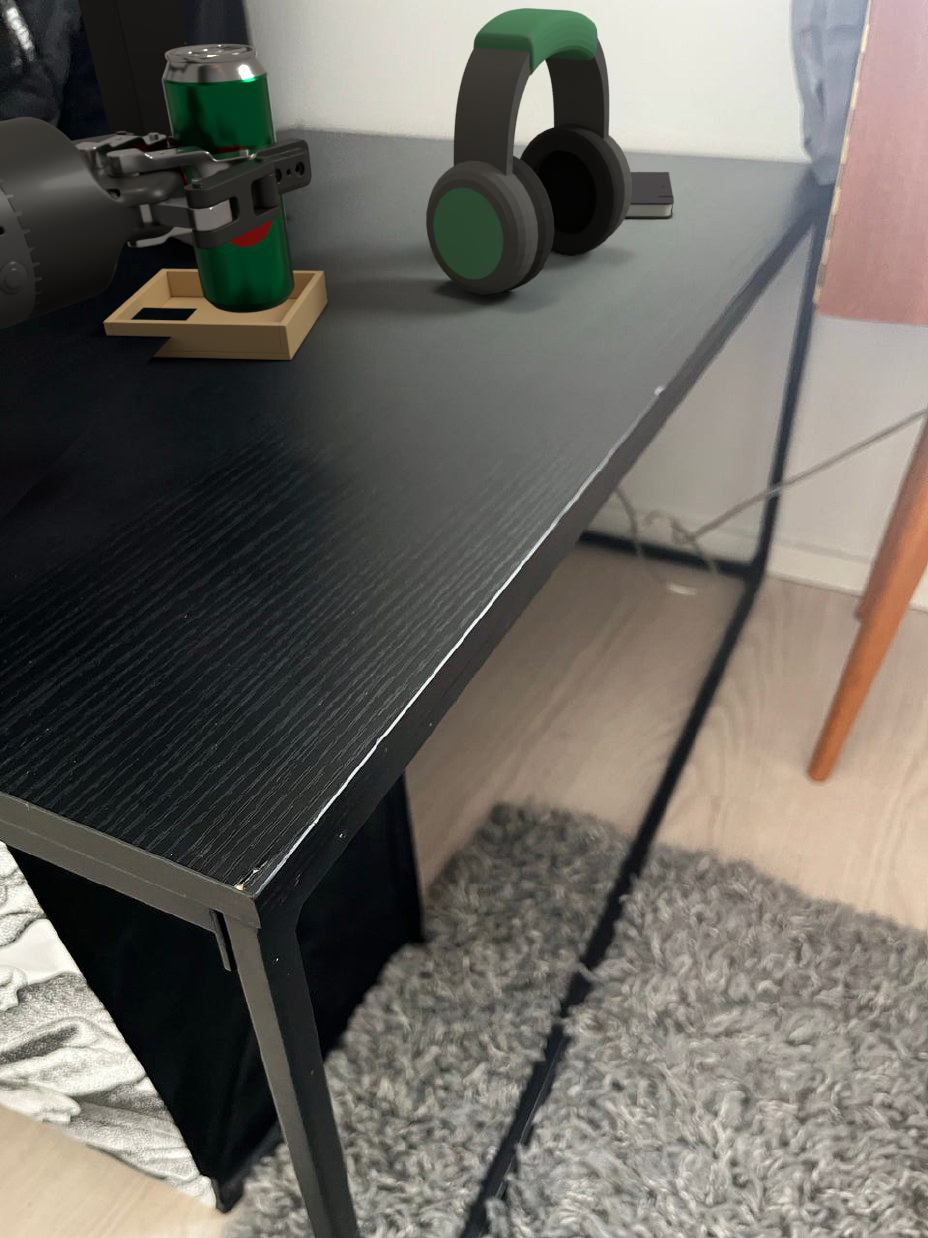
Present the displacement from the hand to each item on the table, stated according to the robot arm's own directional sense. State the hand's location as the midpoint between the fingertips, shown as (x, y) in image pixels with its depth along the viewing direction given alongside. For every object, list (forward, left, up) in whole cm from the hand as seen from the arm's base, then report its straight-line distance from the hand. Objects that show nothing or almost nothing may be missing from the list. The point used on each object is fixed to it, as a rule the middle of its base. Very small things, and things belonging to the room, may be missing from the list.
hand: (265, 153), depth 50 cm
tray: (-12, +19, -17) cm, 28 cm away
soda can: (-1, -2, -7) cm, 8 cm away
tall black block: (-33, +62, -17) cm, 72 cm away
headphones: (+12, +34, -17) cm, 40 cm away
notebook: (+15, +57, -17) cm, 62 cm away
